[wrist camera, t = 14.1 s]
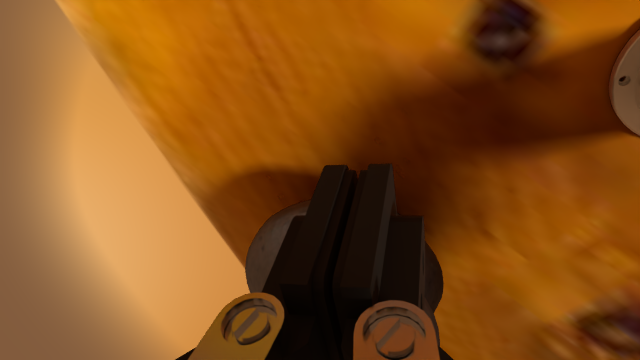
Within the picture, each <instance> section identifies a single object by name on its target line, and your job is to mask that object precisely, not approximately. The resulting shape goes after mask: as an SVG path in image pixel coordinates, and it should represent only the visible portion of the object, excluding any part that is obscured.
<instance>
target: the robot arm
mask: <svg viewBox="0 0 640 360" xmlns="http://www.w3.org/2000/svg"><path fill="white" fill-rule="evenodd" d="M623 76H624V77H623ZM621 77H623V78H622V79H620V78H621ZM619 79H620V80H619ZM609 96H610V101H611V105H612V107H613V109H614V111H615V113H616V115H617V116H618V117H619V119H620V120H621V121H622V123H623V124H624V125H625V126H626V127H628V128H629V129H630V130H631V131H632V132H634V133H636V134H638V135H639V136H640V29H639V30H638V31H637V32H636V33H635V34H634V35H633V36H632V38H631V39H630V40H629V41H628V42H627V44H626V45H625V47H624V48H623V49H622V51H621V52H620V54H619V56H618V58H617V60H616V62H615V64H614V66H613V69H612V73H611V76H610V80H609ZM424 294H425V235H424V219H423V216H397V207H396V197H395V187H394V176H393V167H392V164H391V163H390V164H369V166H368V170H361V171H360V175H359V178H358V181H357V175H356V171H355V170H349V168H348V166H347V165H326V166H325V167H324V168H323V171H322V174H321V176H320V179H319V181H318V184H317V186H316V189H315V192H314V194H313V197H312V199H311V202H310V204H309V207H308V210H307V212H306V215H296V216H295V217H293V219H292V221H291V223H290V226H289V228H288V230H287V233H286V235H285V237H284V240H283V242H282V244H281V247H280V249H279V252H278V254H277V256H276V259H275V261H274V263H273V266H272V268H271V271H270V273H269V275H268V278H267V280H266V282H265V285H264V287H263V290H262V292H261V293H258V292H255V293H250V294H245V295H243V296H241V297H238V298H236V299H234V300H233V301H232V302H230V303H229V304H227V305H226V306H225V307H224V308H223V309H222V311H221V312H220V313H219V314H218V316H217V317H216V319H215V320H214V322H213V323H212V324H211V326H210V327H209V329H208V330H207V332H206V333H205V335H204V336H203V338H202V339H201V341H200V342H199V344H198V345H197V347H196V348H194V349H192V350H191V351H189V352H187V353H186V354H184V355H182V356H181V357H179V358H177V359H176V360H453V359H452V358H451V357H450V356H449V355H448V354H447V353H446V352H445V351H444V350H443V349H441V348H440V347H439V346H438V345H437V340H436V334H435V329H434V327H433V324H432V321H431V319H430V318H429V317H428V315H427V314H426V313H425V312H424Z"/></svg>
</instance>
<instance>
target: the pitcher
mask: <svg viewBox="0 0 640 360" xmlns="http://www.w3.org/2000/svg"><path fill="white" fill-rule="evenodd" d="M310 202H311V200H308V201H304V202H301V203H298V204H295V205H292V206H289V207H287V208H285V209H283V210H281V211H280V212H278V213H276V214H274V215H272V216H271V217H270V218H269V219H268V220H267V221H266V222H265V223H264V225H263V226H262V227H261V228H260V229H259V231H258V233H257V234H256V236H255V238H254V240H253V242H252V244H251V245H250V247H249V251H248V254H247V258H246V267H245V272H246V279H247V284H248V287H249V290H250V293H255V292H258V293H261V292H262V290H263V287H264V285H265V282H266V280H267V278H268V275H269V273H270V271H271V268H272V266H273V263H274V261H275V259H276V256H277V254H278V252H279V249H280V247H281V244H282V242H283V240H284V237H285V235H286V233H287V230H288V228H289V226H290V223H291V221H292V219H293V217H295V216H296V215H306V212H307V210H308V207H309V204H310ZM397 216H401V215H400V214H398V213H397ZM442 294H443V276H442V270H441V267H440V264H439V262H438V260H437V258H436V256H435V254H434V252H433V251H432V250H431V248H430V247H429V246H428V244H427V243H426V241H425V294H424V312H425V313H426V314H427V315H428V317H429V318H430V319H431V321H432V324H433V327H434V329H435V334H436V340H437V345H438V346H439V347H440V339H439V330H438V326H437V323H436V319H435V316H434V312H435V310H436V308H437V306H438V304H439V302H440V300H441V298H442Z"/></svg>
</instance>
